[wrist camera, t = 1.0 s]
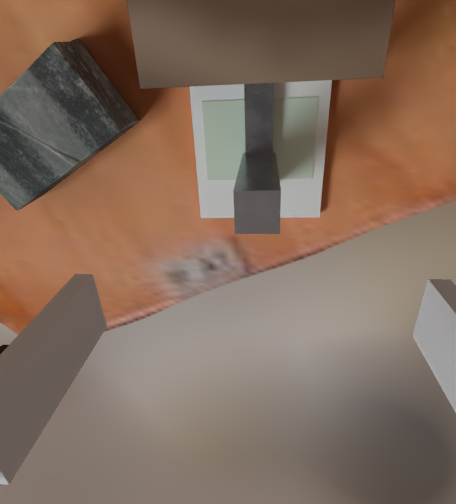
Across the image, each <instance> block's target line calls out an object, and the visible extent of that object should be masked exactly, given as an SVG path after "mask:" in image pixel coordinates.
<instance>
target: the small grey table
mask: <svg viewBox="0 0 456 504" xmlns="http://www.w3.org/2000/svg"><path fill="white" fill-rule="evenodd" d="M127 5H128V11H129V18H130V25H131V31H132V38H133V45H134V51H135V58H136V65H137V71H138V78H139V85H140V89H147V88H169V87H191V86H213V85H235V84H257V83H278V82H300V81H322V80H344V79H366V78H383V77H384V71H385V64H386V58H387V51H388V45H389V38H390V32H391V25H392V19H393V12H394V6H395V0H127Z"/></svg>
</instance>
